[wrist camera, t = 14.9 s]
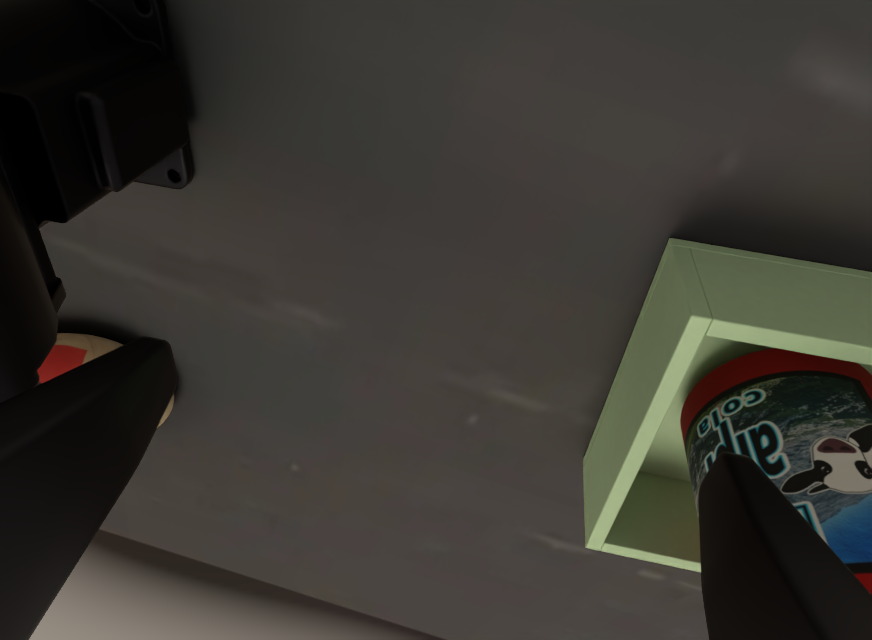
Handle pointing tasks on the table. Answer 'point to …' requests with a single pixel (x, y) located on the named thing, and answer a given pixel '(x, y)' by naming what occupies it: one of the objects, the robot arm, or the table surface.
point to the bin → (691, 361)
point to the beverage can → (794, 439)
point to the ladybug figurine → (79, 357)
